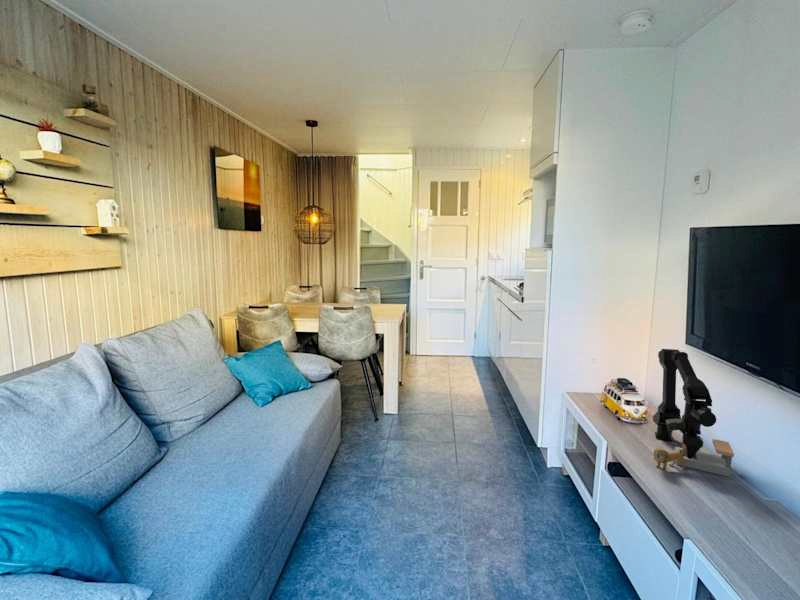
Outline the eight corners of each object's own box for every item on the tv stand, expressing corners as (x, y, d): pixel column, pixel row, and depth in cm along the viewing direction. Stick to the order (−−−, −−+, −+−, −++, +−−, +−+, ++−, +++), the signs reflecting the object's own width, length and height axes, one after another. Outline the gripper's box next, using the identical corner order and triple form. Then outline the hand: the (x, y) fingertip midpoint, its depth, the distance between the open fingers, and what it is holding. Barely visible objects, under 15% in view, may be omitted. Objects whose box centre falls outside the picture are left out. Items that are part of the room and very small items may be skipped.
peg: (680, 457, 171) (682, 441, 170) (692, 460, 169) (694, 443, 168) (681, 462, 168) (683, 445, 167) (693, 465, 166) (695, 448, 165)
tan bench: (709, 460, 169) (712, 438, 168) (725, 464, 167) (728, 442, 166) (714, 473, 160) (717, 450, 158) (730, 477, 157) (734, 454, 156)
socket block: (674, 453, 175) (675, 446, 174) (725, 464, 166) (726, 457, 166) (676, 464, 166) (677, 457, 165) (730, 476, 158) (731, 469, 157)
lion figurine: (659, 474, 158) (662, 452, 157) (647, 467, 163) (649, 445, 162) (689, 469, 162) (692, 447, 161) (676, 462, 167) (679, 440, 166)
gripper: (667, 403, 178) (662, 439, 180) (670, 419, 161) (665, 458, 164) (699, 409, 172) (694, 445, 175) (705, 426, 156) (700, 466, 158)
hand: (688, 453), depth 168 cm, fingers open, 9 cm apart
